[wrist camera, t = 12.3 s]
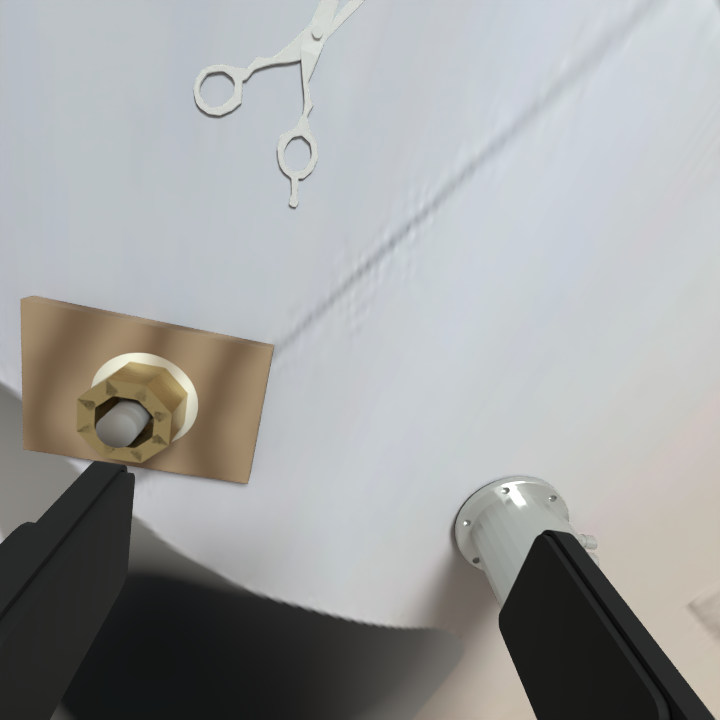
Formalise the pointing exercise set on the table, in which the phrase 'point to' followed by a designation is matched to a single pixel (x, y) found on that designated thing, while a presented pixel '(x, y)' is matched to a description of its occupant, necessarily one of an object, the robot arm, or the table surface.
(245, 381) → the post plate
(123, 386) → the ring
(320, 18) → the scissors
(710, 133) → the table surface
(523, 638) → the robot arm
